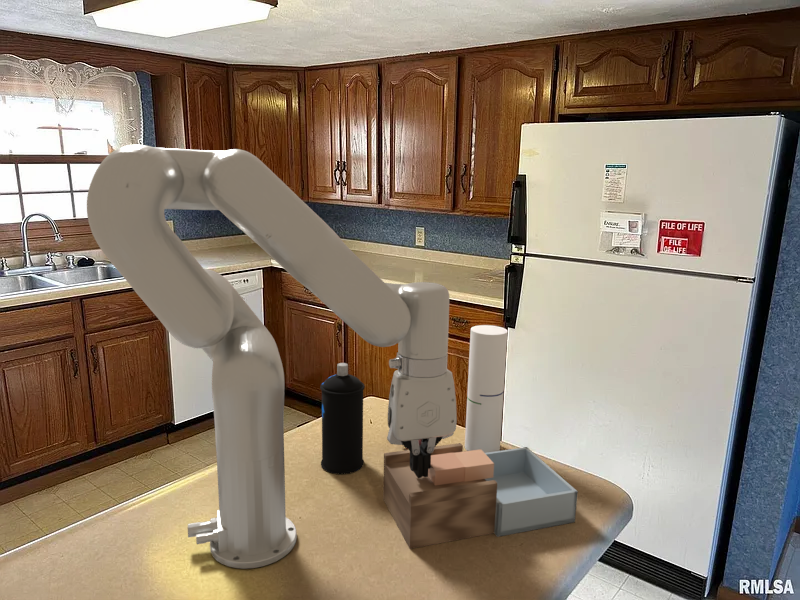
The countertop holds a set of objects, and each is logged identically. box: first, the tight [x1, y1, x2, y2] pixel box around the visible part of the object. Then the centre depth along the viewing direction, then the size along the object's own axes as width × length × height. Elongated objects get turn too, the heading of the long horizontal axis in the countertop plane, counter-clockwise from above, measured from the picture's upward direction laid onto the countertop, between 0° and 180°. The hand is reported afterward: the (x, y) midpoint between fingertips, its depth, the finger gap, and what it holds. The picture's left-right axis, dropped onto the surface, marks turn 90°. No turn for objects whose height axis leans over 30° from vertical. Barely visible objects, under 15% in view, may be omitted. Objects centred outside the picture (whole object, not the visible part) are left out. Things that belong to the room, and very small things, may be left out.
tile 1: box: [428, 453, 465, 485], centre depth 95 cm, size 5×5×2 cm
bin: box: [485, 446, 579, 538], centre depth 100 cm, size 14×16×6 cm
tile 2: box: [454, 449, 494, 482], centre depth 96 cm, size 5×5×2 cm
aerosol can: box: [319, 362, 366, 475], centre depth 110 cm, size 8×8×20 cm
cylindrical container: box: [464, 324, 508, 453], centre depth 118 cm, size 7×7×25 cm
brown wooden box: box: [382, 442, 497, 550], centre depth 95 cm, size 14×14×9 cm
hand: (419, 473), depth 94 cm, fingers closed
